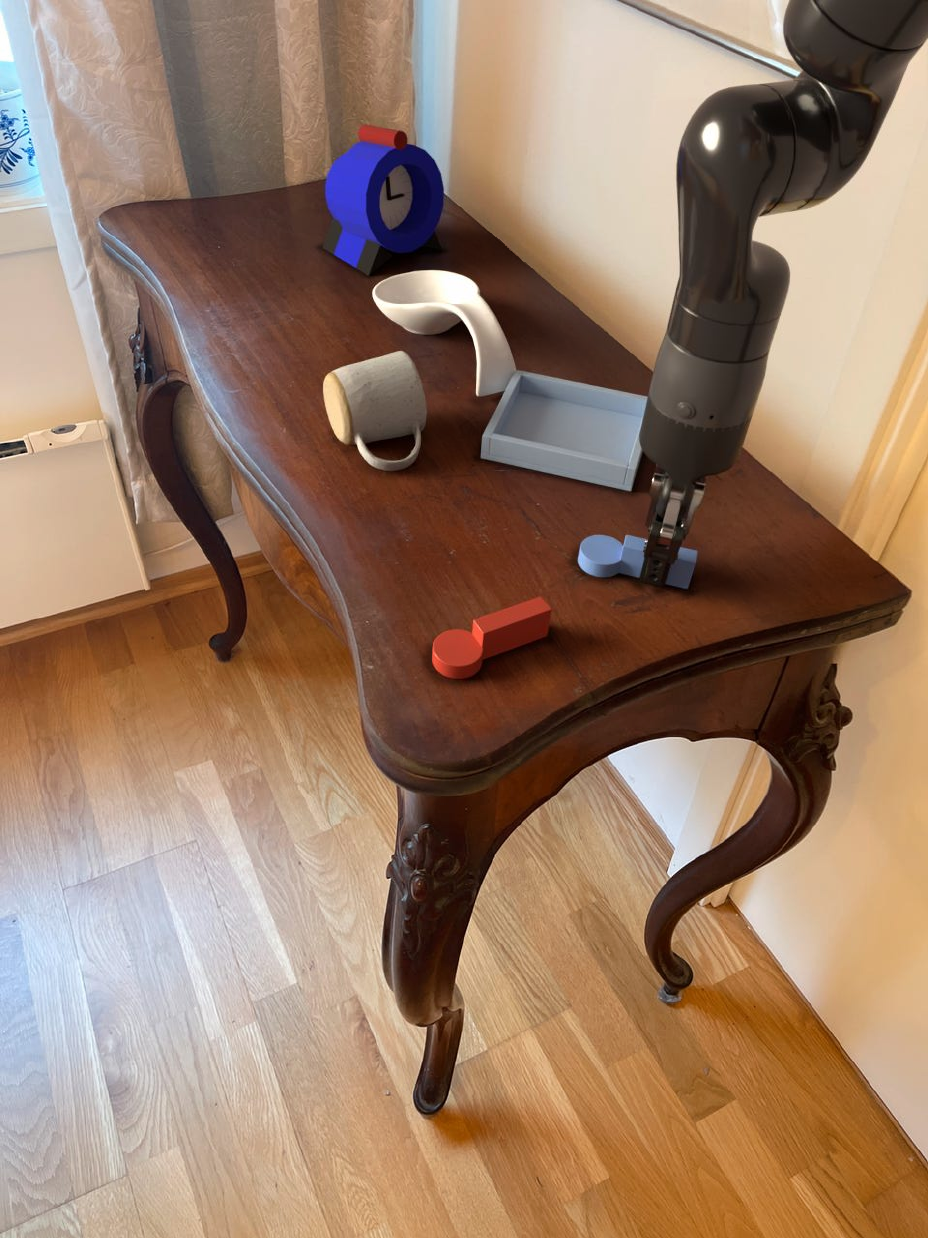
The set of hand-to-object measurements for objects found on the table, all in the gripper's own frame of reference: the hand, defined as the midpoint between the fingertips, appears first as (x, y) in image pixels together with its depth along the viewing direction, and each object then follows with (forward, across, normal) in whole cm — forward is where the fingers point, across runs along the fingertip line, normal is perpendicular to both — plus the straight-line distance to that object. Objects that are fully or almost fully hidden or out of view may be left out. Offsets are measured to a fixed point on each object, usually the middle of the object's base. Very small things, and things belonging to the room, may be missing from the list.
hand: (653, 572), depth 79 cm
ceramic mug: (0, +10, +28) cm, 30 cm away
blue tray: (0, +17, +11) cm, 20 cm away
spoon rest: (0, +30, +28) cm, 41 cm away
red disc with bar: (0, -13, +11) cm, 17 cm away
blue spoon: (0, 0, +2) cm, 2 cm away
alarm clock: (0, +50, +43) cm, 66 cm away
